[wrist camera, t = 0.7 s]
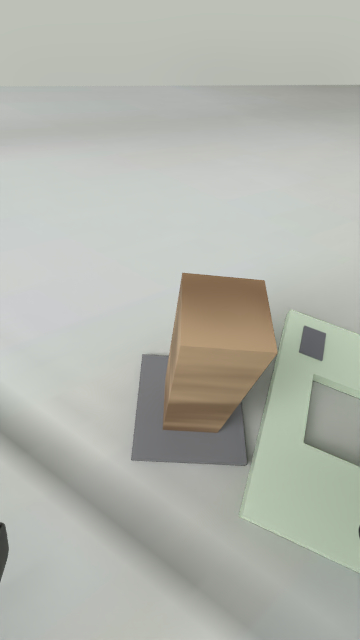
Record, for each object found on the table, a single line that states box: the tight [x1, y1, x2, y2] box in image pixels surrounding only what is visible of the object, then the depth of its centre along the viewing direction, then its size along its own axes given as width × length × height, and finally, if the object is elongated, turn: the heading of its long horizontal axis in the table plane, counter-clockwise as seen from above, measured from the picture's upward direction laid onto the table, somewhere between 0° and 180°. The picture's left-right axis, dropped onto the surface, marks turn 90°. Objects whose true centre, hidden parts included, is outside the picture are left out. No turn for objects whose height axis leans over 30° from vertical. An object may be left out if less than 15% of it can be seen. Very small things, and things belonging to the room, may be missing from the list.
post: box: [163, 273, 278, 433], centre depth 18 cm, size 4×4×12 cm
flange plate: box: [239, 309, 360, 573], centre depth 24 cm, size 18×12×1 cm, turn 158°
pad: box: [131, 354, 247, 466], centre depth 24 cm, size 8×8×1 cm
